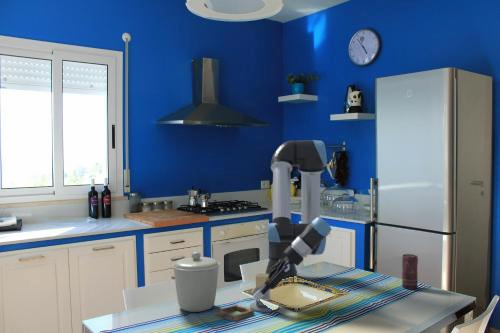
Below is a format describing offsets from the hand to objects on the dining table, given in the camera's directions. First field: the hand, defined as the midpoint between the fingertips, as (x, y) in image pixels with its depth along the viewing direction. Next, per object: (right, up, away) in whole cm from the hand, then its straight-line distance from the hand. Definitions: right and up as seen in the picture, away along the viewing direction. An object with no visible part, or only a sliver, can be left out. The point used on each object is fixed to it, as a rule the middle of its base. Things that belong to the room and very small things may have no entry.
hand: (254, 296), depth 165 cm
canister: (-22, -5, +1) cm, 22 cm away
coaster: (+4, -4, 0) cm, 6 cm away
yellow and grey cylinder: (+3, -3, 0) cm, 5 cm away
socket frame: (-7, -4, -7) cm, 11 cm away
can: (+67, -4, +23) cm, 71 cm away
